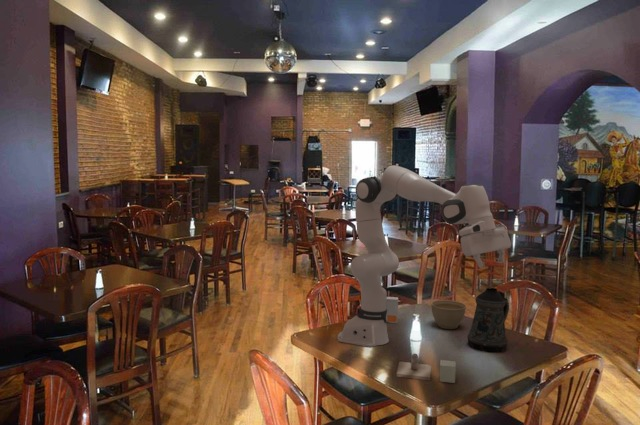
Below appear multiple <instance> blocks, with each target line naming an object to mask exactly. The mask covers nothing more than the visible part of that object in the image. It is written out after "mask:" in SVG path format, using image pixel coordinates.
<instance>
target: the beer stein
mask: <svg viewBox="0 0 640 425" xmlns="http://www.w3.org/2000/svg"><path fill="white" fill-rule="evenodd" d="M505 296H506V295H505V293H504V292H503V291H500V290H498V289H497V288H494V287H486V289H485V290H484V291H483V292H482V293H480V294H478V295H477V296H476V297H475V303H476V306H475V309H474V310H475V311H474V316H473V320H472V323H471V325H470V326H471V327H470V330H469V332H468V334H467V343H468V346H469V347H470V348H471V349H473V350H476V351H479V352H483V353H492V354H493V353H494V354H495V353H496V354H497V353H503V352H504V351H506V349H507V346H508V344H509V343H508V338H507V335H506V324H505V323H506V321H507V320H506V319H507V318H508V314H509V311H510V303H509V300H508V298H507V297H505Z"/></svg>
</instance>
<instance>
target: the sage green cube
mask: <svg viewBox="0 0 640 425" xmlns="http://www.w3.org/2000/svg"><path fill="white" fill-rule="evenodd" d="M456 362H457V361H455V360H454V361H453V360H446V359H445V360H444V359H440V363H439V379H438V380H439V383H440V382H443V383H449V384H455V383H456V369H457V368H456V365H457V364H456Z"/></svg>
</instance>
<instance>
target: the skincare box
mask: <svg viewBox="0 0 640 425" xmlns="http://www.w3.org/2000/svg"><path fill="white" fill-rule="evenodd" d="M398 307H399V297H398V296H395V297H394V296H387V304H386V309H387V322H386V323H391V324H398V313H399V312H398V311H399V308H398Z"/></svg>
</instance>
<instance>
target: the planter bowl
mask: <svg viewBox="0 0 640 425" xmlns="http://www.w3.org/2000/svg"><path fill="white" fill-rule="evenodd" d="M466 308H467V305H466V304H465V303H463V302H460V301H457V300H448V299H441V300H440V299H439V300H435V301H432V302H431V312H432V316H433V319H434V320H435V322H436V323H437V327H439V328H441V329H445V330H455V329H457V328H458V327H459V325H460V324H461V322H462V321H463V319H464V317H465V313H466Z"/></svg>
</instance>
